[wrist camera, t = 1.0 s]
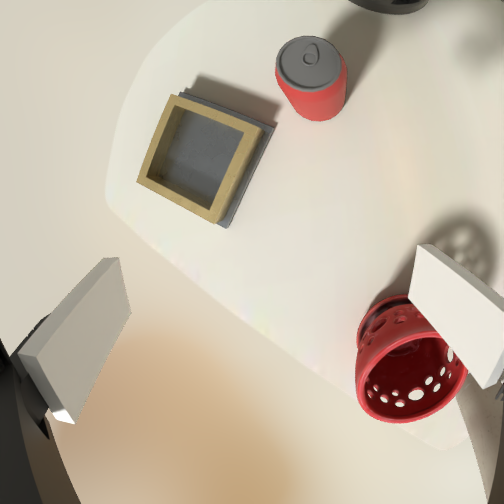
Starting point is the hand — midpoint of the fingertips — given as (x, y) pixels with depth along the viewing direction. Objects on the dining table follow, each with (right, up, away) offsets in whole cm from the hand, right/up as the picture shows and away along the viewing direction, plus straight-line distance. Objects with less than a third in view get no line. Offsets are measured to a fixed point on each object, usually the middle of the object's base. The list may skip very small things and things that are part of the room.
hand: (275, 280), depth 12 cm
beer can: (+7, +20, +20) cm, 29 cm away
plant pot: (+19, -9, +24) cm, 32 cm away
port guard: (-7, +14, +25) cm, 30 cm away
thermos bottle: (+36, -21, +22) cm, 47 cm away
